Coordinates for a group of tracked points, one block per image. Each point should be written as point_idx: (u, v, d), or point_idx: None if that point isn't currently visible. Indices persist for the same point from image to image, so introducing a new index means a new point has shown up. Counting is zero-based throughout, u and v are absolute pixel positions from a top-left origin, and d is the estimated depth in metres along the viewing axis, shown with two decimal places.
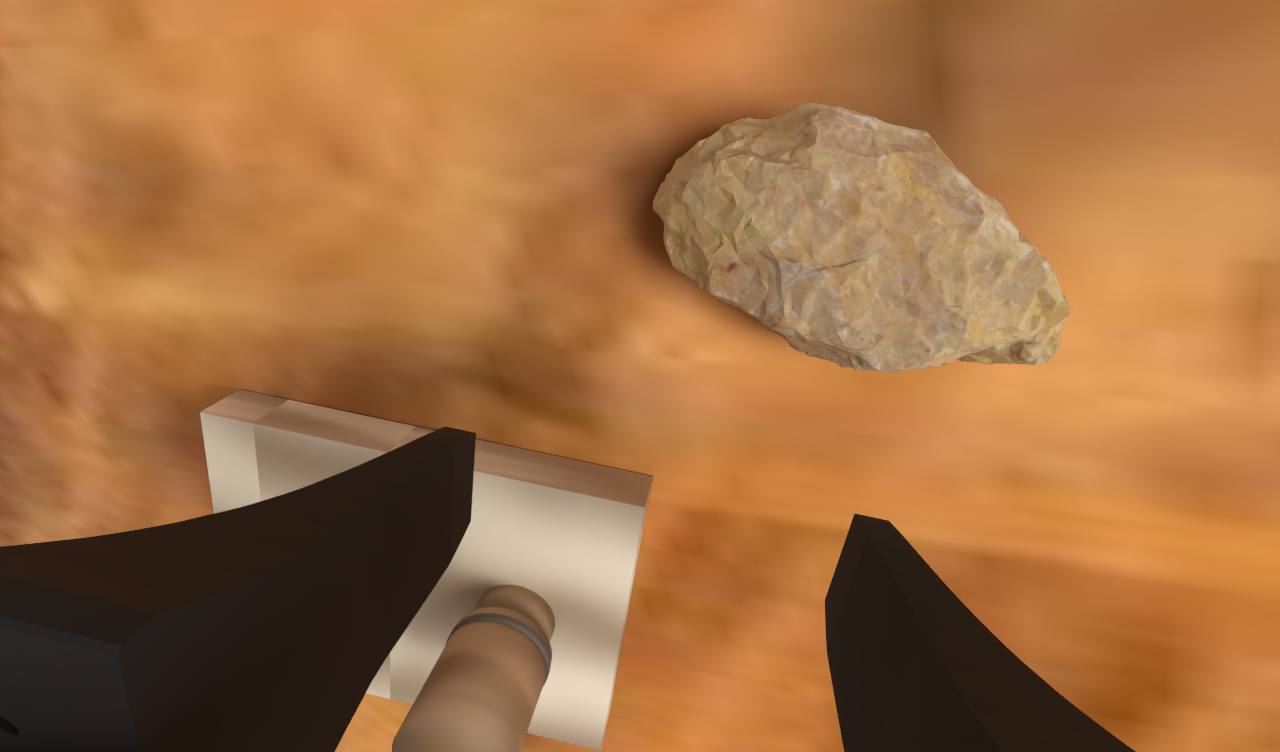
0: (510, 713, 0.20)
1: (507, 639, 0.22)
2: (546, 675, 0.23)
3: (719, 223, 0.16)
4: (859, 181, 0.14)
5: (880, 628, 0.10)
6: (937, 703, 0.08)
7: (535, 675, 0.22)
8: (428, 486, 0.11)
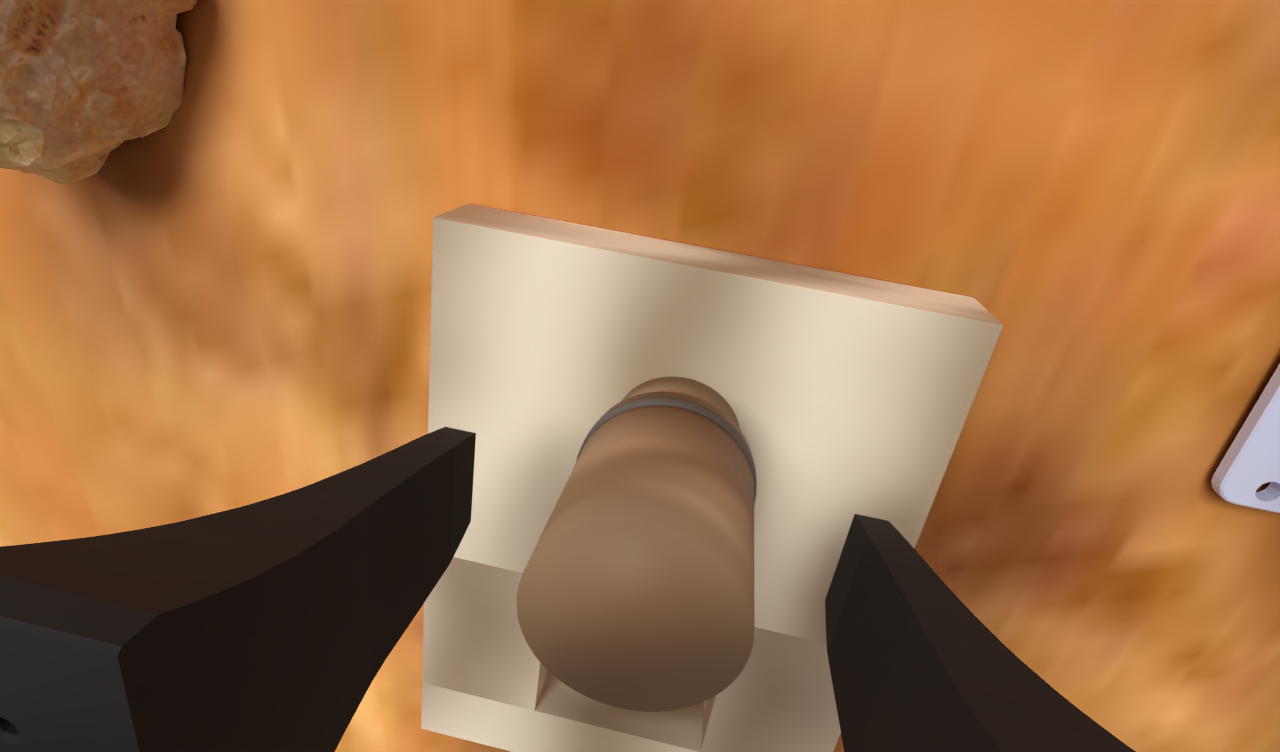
0: (582, 490, 0.10)
1: (576, 461, 0.13)
2: (679, 408, 0.13)
3: None
4: None
5: (880, 628, 0.10)
6: (937, 703, 0.08)
7: (629, 428, 0.12)
8: (428, 486, 0.11)
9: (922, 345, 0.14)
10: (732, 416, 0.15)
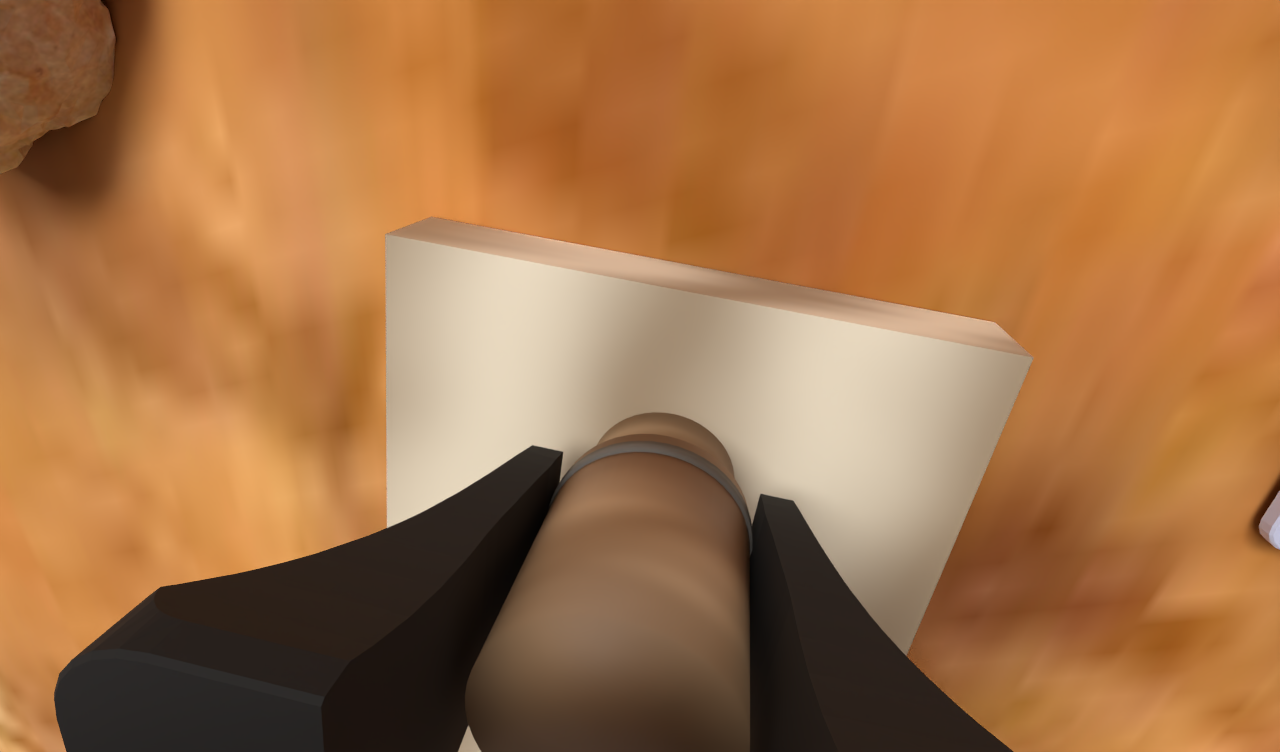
0: (545, 566, 0.09)
1: (546, 516, 0.11)
2: (663, 455, 0.11)
3: None
4: None
5: (765, 602, 0.10)
6: (791, 669, 0.08)
7: (604, 482, 0.10)
8: (528, 509, 0.10)
9: (940, 379, 0.12)
10: (725, 457, 0.13)
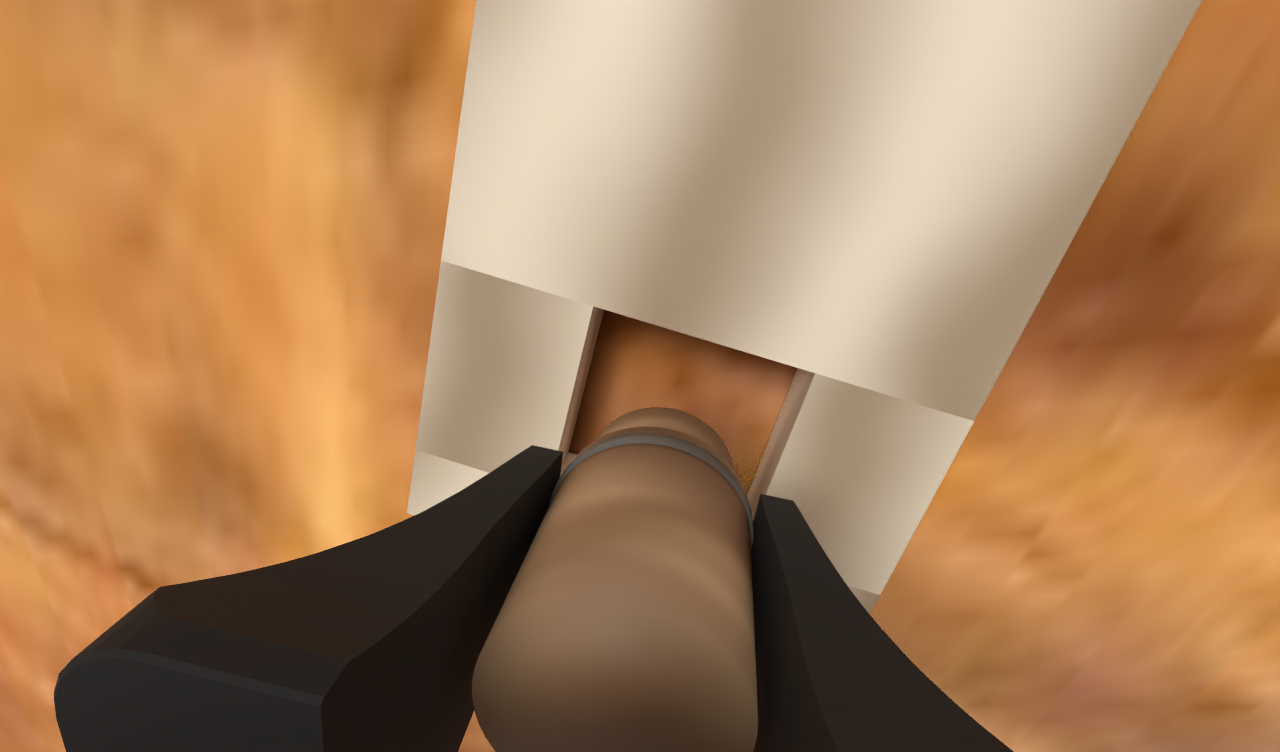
0: (551, 552, 0.09)
1: (548, 508, 0.11)
2: (665, 447, 0.11)
3: None
4: None
5: (765, 602, 0.10)
6: (791, 669, 0.08)
7: (607, 472, 0.10)
8: (528, 509, 0.10)
9: None
10: (724, 451, 0.13)
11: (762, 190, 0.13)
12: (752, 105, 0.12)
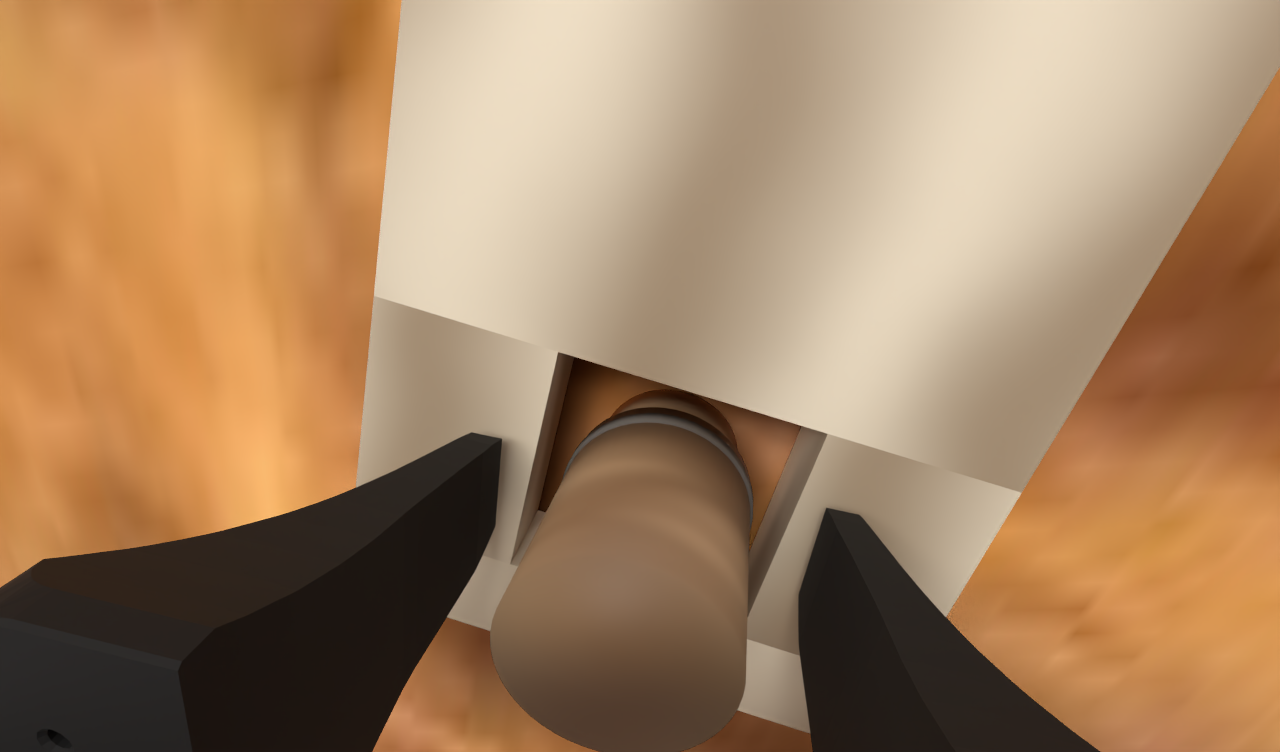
0: (563, 518, 0.10)
1: None
2: (670, 426, 0.12)
3: None
4: None
5: (845, 620, 0.10)
6: (892, 693, 0.08)
7: (616, 448, 0.11)
8: (459, 493, 0.11)
9: None
10: (728, 432, 0.14)
11: (763, 214, 0.10)
12: (750, 108, 0.10)
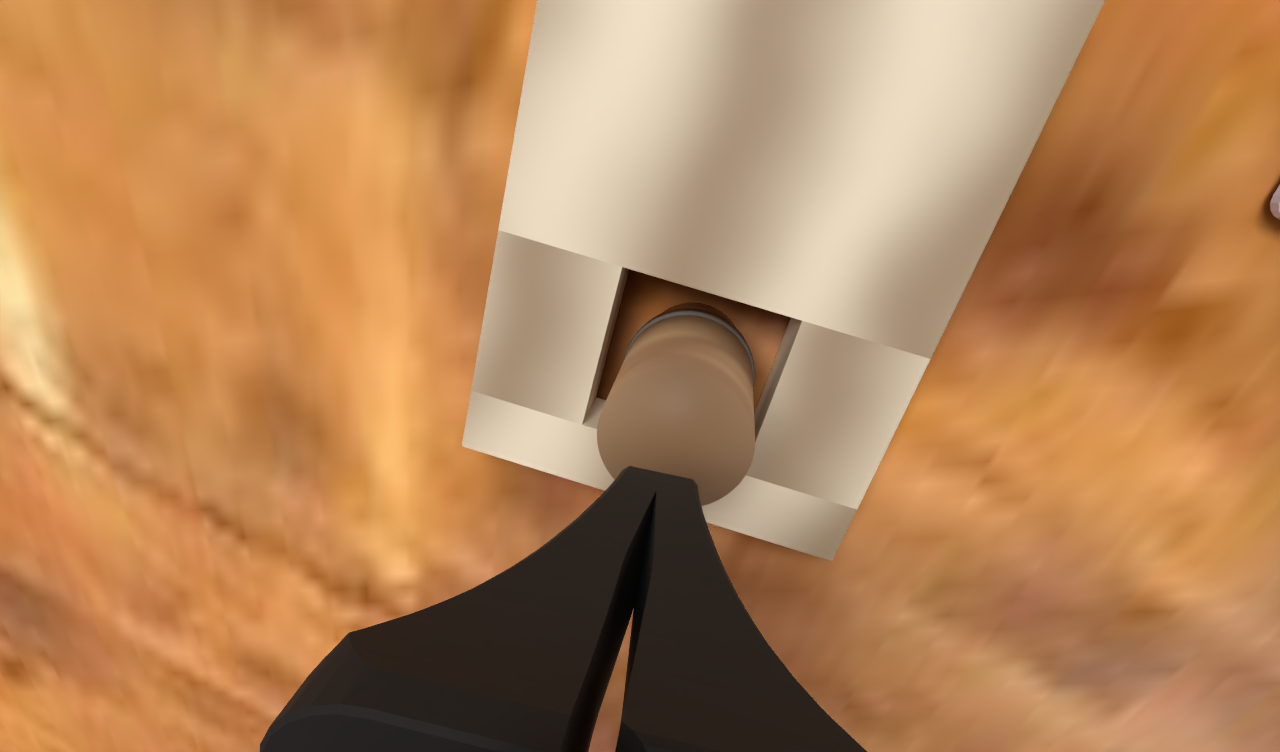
0: (639, 359, 0.16)
1: (626, 355, 0.18)
2: (700, 316, 0.18)
3: None
4: None
5: (646, 575, 0.10)
6: None
7: (666, 327, 0.17)
8: (641, 533, 0.10)
9: None
10: None
11: (759, 171, 0.16)
12: (751, 103, 0.16)
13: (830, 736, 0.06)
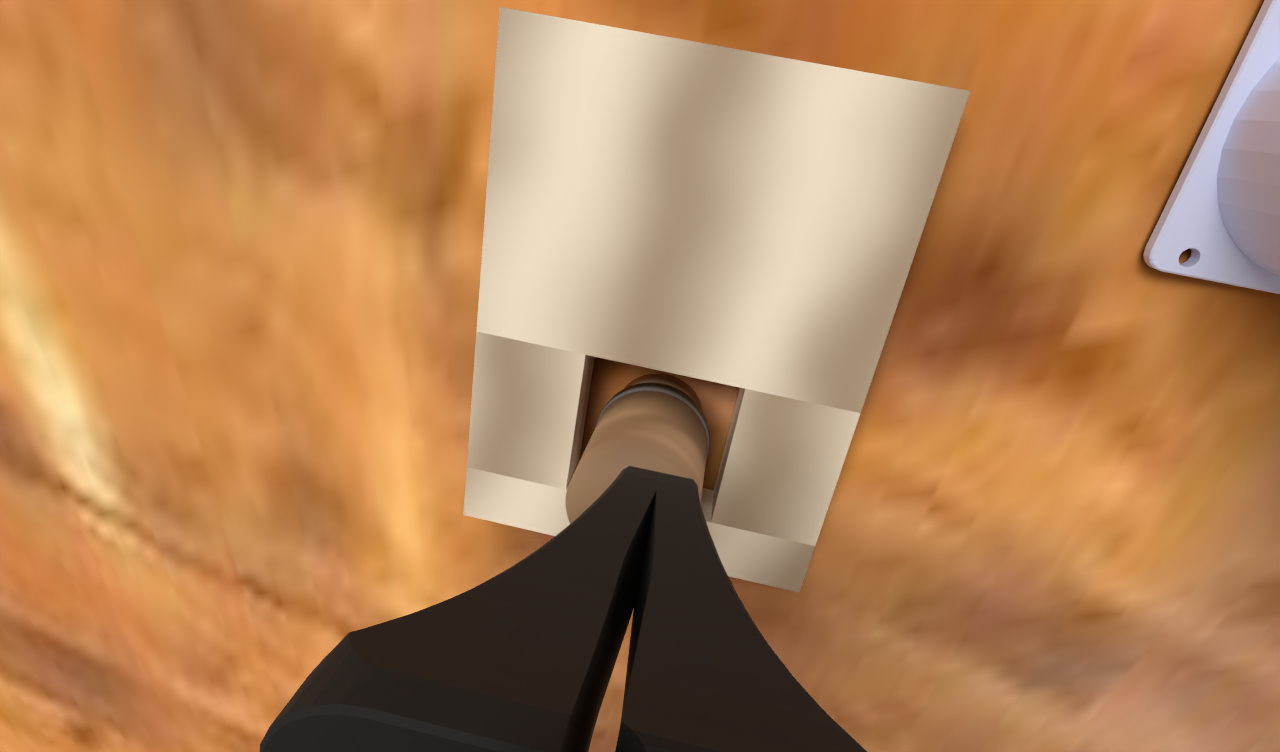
0: (598, 439, 0.18)
1: None
2: (656, 391, 0.20)
3: None
4: None
5: (646, 575, 0.10)
6: None
7: (625, 405, 0.20)
8: (642, 533, 0.10)
9: (904, 112, 0.17)
10: (694, 396, 0.22)
11: (692, 268, 0.19)
12: (678, 214, 0.18)
13: (830, 736, 0.06)
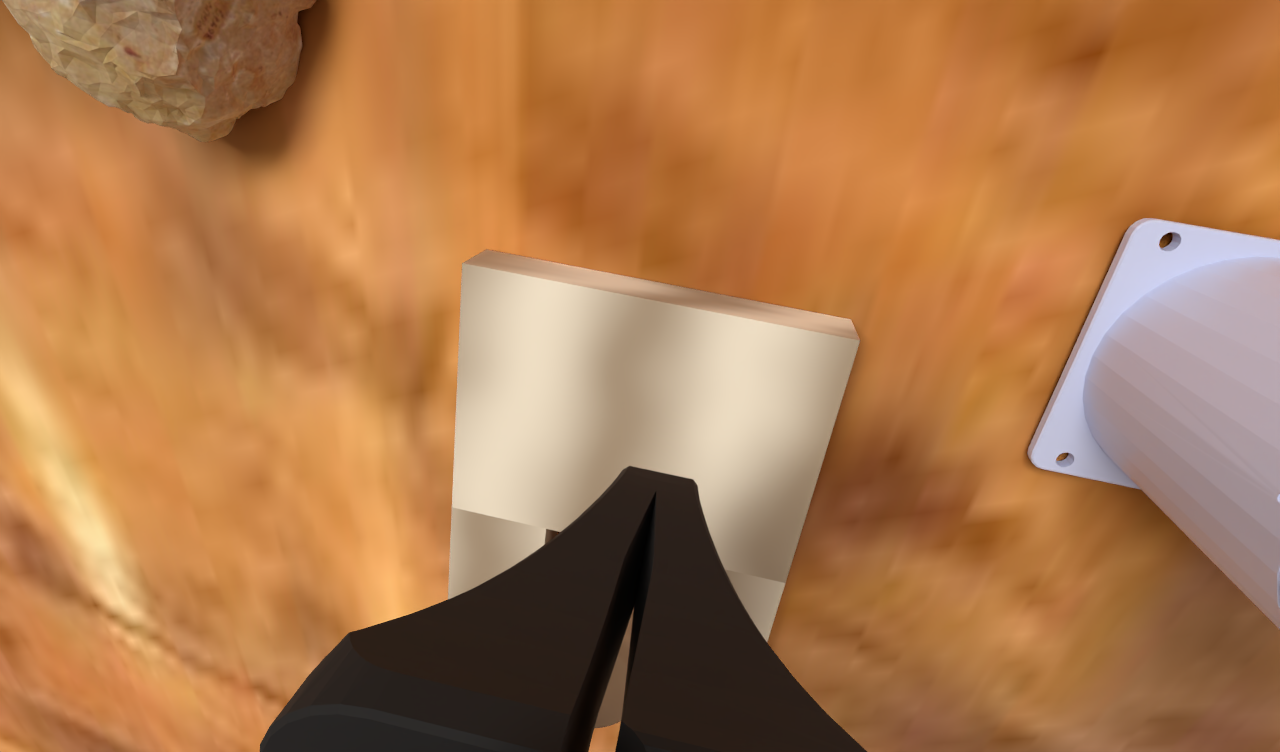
0: None
1: None
2: None
3: (101, 67, 0.17)
4: None
5: (646, 575, 0.10)
6: None
7: None
8: (641, 534, 0.10)
9: (806, 354, 0.19)
10: None
11: (634, 465, 0.22)
12: (620, 424, 0.21)
13: (830, 736, 0.06)
